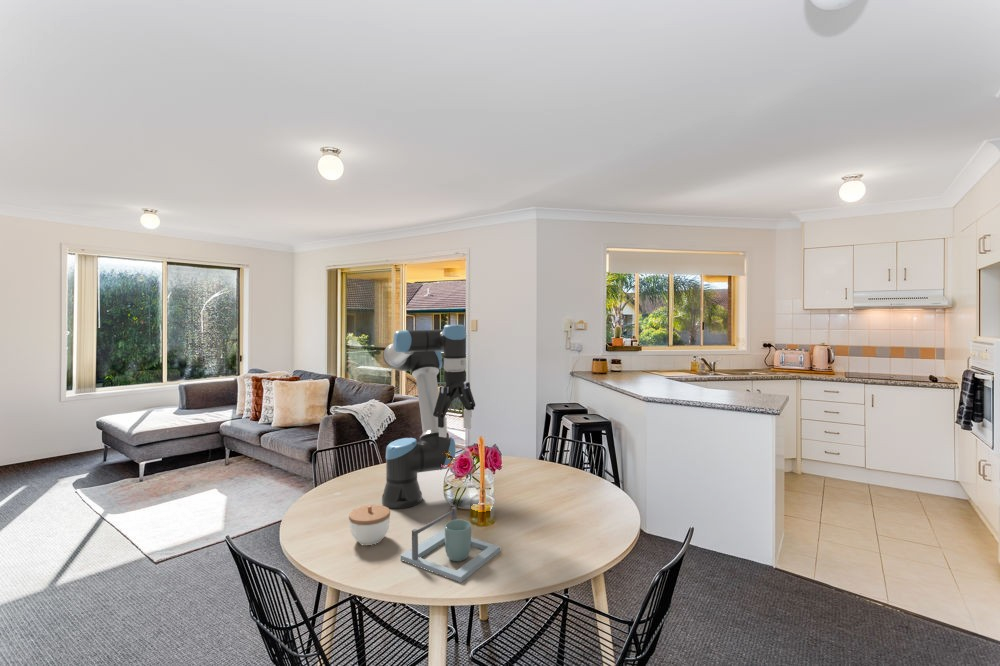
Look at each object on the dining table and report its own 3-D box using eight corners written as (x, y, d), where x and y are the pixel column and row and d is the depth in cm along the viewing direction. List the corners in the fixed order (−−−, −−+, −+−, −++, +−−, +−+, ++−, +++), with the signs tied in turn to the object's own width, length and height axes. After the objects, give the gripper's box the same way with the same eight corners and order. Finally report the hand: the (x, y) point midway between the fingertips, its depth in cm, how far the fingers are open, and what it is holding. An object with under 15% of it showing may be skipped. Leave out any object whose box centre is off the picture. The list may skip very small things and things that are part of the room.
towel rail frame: (400, 560, 142) (400, 526, 141) (443, 533, 159) (443, 503, 158) (460, 582, 130) (460, 546, 130) (500, 551, 147) (500, 519, 146)
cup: (467, 566, 139) (467, 531, 138) (441, 563, 140) (441, 529, 140) (474, 552, 146) (474, 520, 146) (449, 550, 148) (449, 518, 147)
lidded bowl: (369, 554, 146) (368, 518, 145) (341, 543, 152) (340, 509, 152) (398, 537, 156) (398, 503, 156) (371, 528, 163) (370, 496, 162)
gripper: (440, 375, 151) (440, 442, 152) (484, 367, 172) (485, 426, 173) (421, 373, 155) (422, 439, 156) (467, 366, 176) (468, 423, 177)
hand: (455, 432), depth 165 cm, fingers open, 13 cm apart
